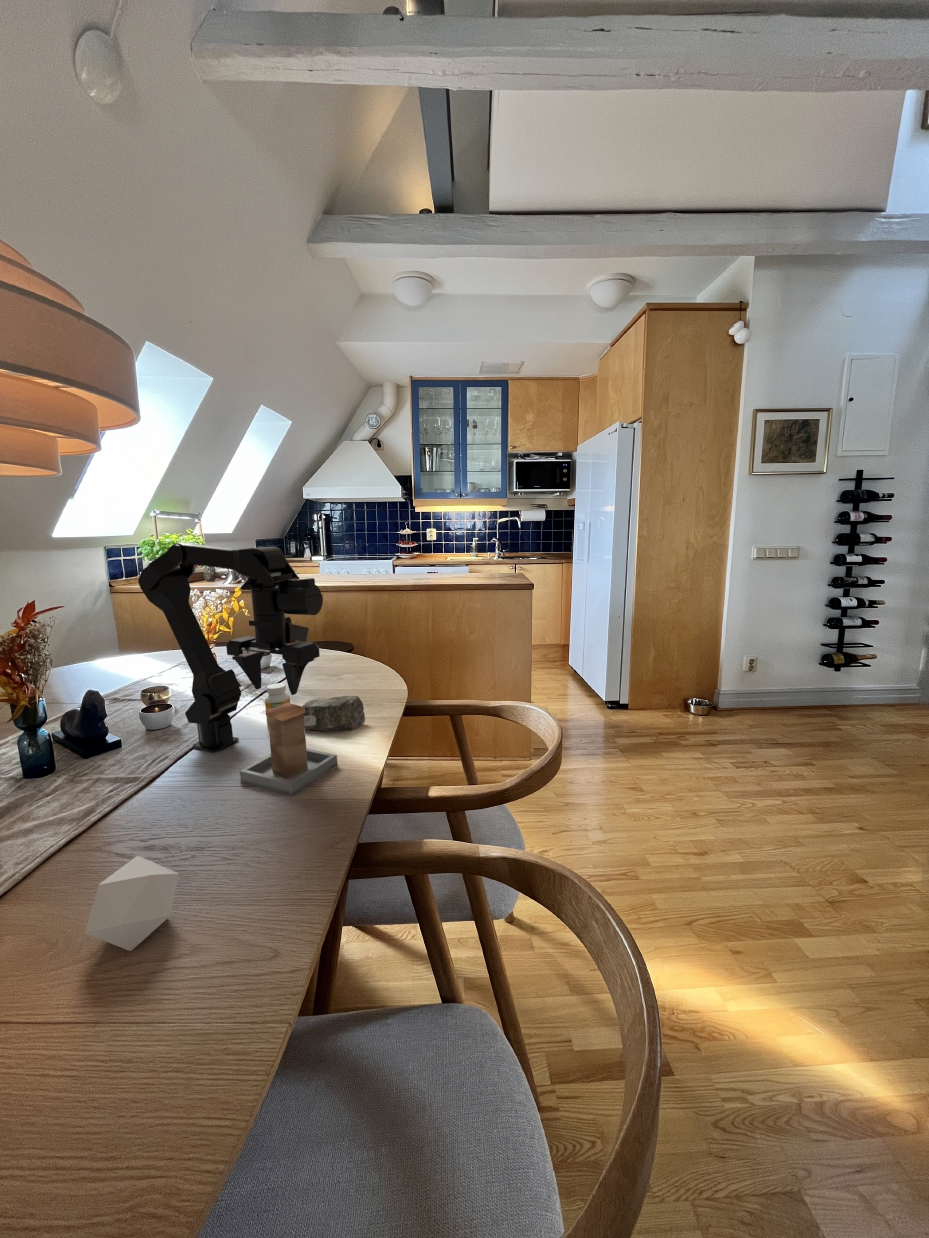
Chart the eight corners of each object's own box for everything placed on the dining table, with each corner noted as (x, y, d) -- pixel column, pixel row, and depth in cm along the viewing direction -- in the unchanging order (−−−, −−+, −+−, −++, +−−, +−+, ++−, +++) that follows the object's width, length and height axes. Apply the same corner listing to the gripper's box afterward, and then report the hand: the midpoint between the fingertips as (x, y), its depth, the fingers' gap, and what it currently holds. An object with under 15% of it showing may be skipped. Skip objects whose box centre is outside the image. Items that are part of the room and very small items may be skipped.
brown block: (271, 772, 95) (265, 710, 92) (292, 762, 99) (287, 702, 96) (287, 779, 92) (282, 715, 90) (309, 768, 96) (304, 707, 94)
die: (143, 902, 64) (76, 870, 59) (202, 867, 64) (141, 832, 59) (127, 972, 58) (50, 943, 52) (193, 933, 57) (122, 901, 52)
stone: (309, 755, 113) (286, 713, 112) (317, 746, 120) (296, 707, 120) (367, 724, 113) (345, 682, 113) (372, 717, 121) (351, 678, 120)
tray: (240, 782, 93) (239, 770, 92) (288, 754, 103) (288, 744, 103) (292, 795, 88) (291, 783, 87) (337, 765, 98) (336, 754, 98)
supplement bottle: (288, 719, 122) (285, 680, 120) (294, 726, 118) (291, 686, 116) (264, 724, 119) (261, 684, 117) (270, 732, 115) (266, 690, 113)
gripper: (335, 609, 102) (340, 685, 105) (264, 604, 110) (270, 675, 113) (295, 619, 92) (302, 702, 95) (220, 613, 100) (228, 690, 103)
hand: (276, 691), depth 102 cm, fingers open, 9 cm apart
